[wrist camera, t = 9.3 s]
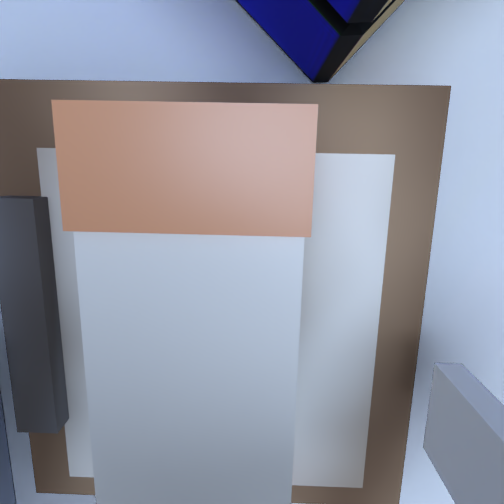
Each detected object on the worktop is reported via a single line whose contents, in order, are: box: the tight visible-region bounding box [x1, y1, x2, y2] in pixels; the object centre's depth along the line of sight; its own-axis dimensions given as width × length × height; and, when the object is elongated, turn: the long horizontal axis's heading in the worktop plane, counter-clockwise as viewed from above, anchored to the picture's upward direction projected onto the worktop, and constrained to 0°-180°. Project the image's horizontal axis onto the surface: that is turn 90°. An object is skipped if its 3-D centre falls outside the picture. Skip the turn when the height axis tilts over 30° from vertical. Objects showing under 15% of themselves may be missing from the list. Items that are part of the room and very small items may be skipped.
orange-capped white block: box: [51, 100, 318, 504], centre depth 11 cm, size 13×5×5 cm, turn 179°
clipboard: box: [0, 79, 451, 504], centre depth 13 cm, size 14×15×2 cm
